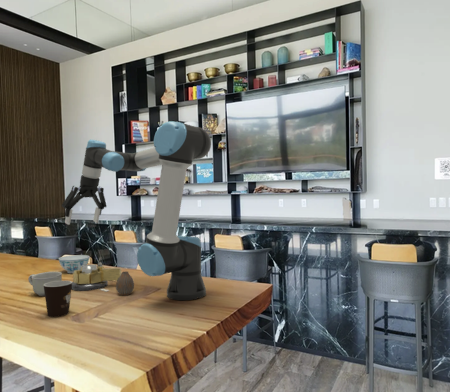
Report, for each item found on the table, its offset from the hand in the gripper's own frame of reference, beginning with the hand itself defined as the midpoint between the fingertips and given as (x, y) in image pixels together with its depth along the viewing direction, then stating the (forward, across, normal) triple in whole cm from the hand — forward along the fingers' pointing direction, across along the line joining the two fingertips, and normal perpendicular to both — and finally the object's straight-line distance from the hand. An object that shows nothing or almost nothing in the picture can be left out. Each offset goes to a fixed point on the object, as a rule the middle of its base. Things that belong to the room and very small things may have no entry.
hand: (81, 222), depth 156 cm
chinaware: (+37, -16, -21) cm, 45 cm away
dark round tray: (+25, -1, +12) cm, 28 cm away
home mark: (+22, -1, +23) cm, 31 cm away
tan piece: (+22, -4, +14) cm, 26 cm away
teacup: (+27, +16, +7) cm, 32 cm away
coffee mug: (+18, +25, +35) cm, 47 cm away
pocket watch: (+29, -13, 0) cm, 32 cm away
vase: (+18, -2, +34) cm, 39 cm away
